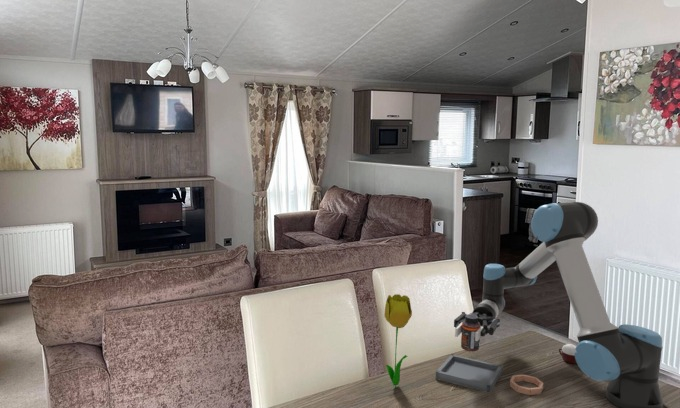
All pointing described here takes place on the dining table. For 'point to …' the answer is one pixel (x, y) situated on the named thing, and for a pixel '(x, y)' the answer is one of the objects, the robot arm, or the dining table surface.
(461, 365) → the tray
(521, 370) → the dining table surface
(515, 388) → the holder ring
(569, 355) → the cocoa
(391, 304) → the flower
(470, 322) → the supplement bottle
